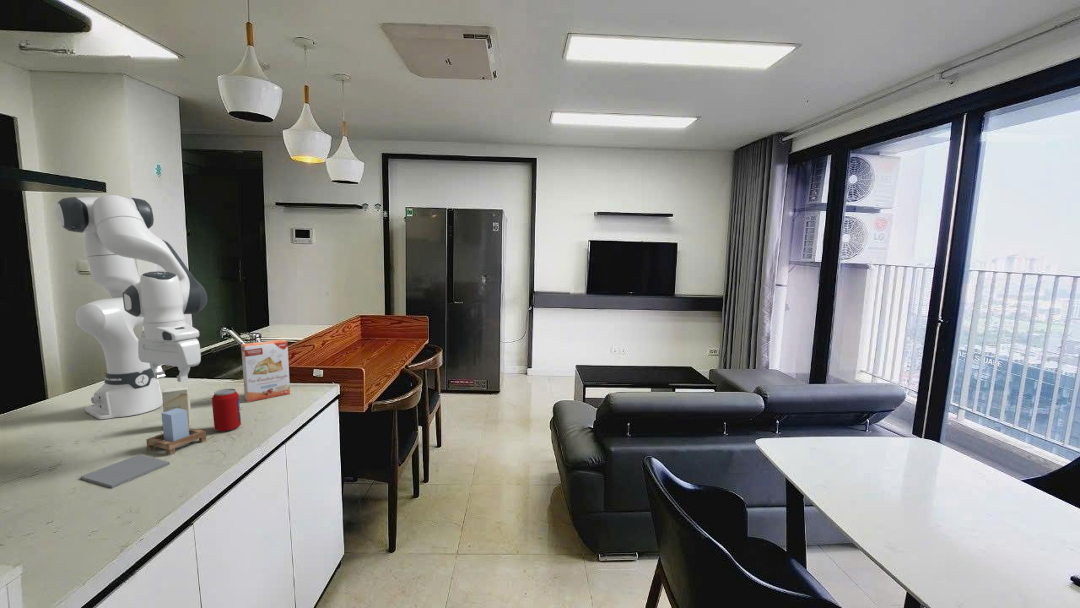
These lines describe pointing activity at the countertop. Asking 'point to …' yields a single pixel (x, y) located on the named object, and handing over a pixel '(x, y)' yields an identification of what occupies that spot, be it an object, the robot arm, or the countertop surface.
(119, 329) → the robot arm
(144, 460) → the mat
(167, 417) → the peg
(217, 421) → the beverage can
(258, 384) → the cracker box
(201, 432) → the wooden square frame
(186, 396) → the skincare box
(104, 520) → the countertop surface
